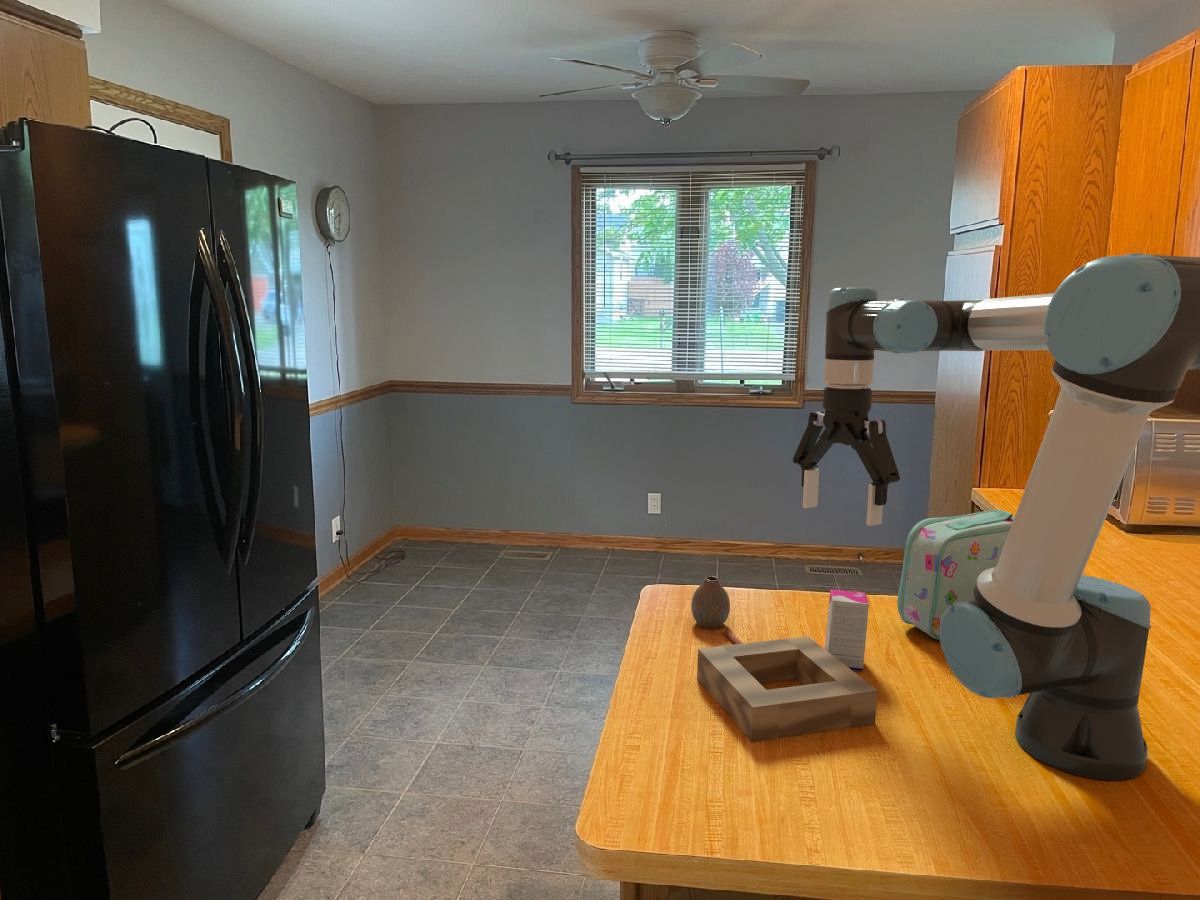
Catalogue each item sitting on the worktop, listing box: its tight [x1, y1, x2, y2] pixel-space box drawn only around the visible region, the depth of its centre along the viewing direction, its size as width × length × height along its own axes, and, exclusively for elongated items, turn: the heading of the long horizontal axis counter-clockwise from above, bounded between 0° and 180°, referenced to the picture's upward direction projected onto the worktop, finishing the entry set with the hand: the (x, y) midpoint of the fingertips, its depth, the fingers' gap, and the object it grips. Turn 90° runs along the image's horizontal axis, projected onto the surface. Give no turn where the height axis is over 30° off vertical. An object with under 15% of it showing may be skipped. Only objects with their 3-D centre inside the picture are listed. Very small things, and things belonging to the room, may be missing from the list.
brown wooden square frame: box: [696, 636, 879, 743], centre depth 122 cm, size 19×19×5 cm
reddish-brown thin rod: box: [723, 628, 743, 644], centre depth 140 cm, size 12×1×1 cm, turn 16°
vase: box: [690, 575, 731, 630], centre depth 149 cm, size 7×7×9 cm
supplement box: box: [824, 588, 870, 672], centre depth 134 cm, size 6×6×12 cm
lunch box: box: [897, 509, 1015, 641], centre depth 149 cm, size 27×10×21 cm, turn 115°
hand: (840, 515), depth 136 cm, fingers open, 13 cm apart
